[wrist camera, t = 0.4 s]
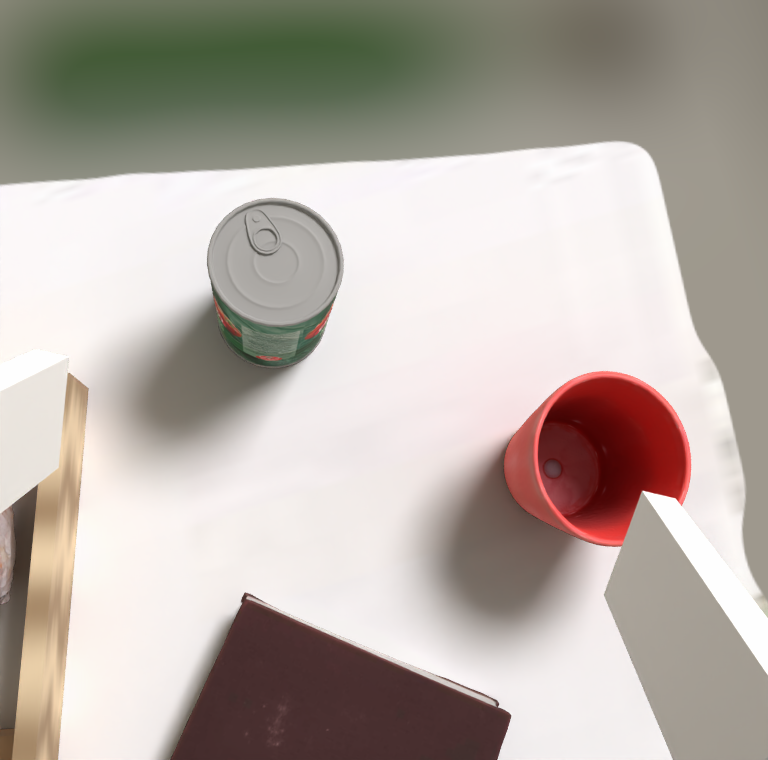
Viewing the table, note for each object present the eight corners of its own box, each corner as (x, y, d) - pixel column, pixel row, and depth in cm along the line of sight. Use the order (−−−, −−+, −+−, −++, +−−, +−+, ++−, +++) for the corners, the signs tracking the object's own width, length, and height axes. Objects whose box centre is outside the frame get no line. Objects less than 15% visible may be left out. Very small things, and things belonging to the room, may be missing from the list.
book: (431, 891, 46) (444, 918, 42) (158, 780, 44) (150, 800, 41) (497, 699, 49) (514, 711, 46) (245, 590, 47) (244, 594, 44)
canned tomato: (343, 343, 51) (366, 296, 41) (244, 385, 49) (241, 347, 39) (299, 249, 52) (310, 179, 42) (199, 287, 50) (184, 224, 40)
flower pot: (454, 486, 51) (499, 477, 41) (532, 370, 54) (590, 338, 44) (569, 572, 51) (640, 582, 42) (640, 452, 54) (721, 437, 45)
